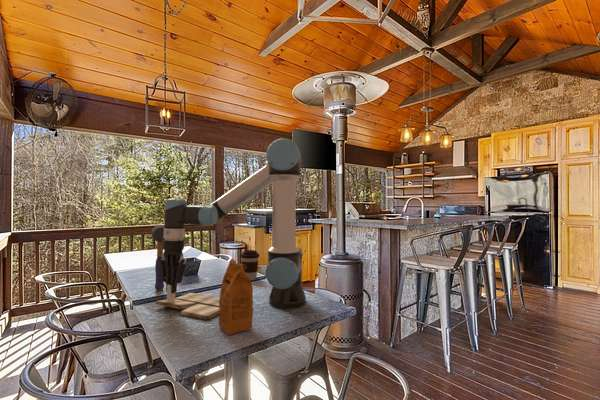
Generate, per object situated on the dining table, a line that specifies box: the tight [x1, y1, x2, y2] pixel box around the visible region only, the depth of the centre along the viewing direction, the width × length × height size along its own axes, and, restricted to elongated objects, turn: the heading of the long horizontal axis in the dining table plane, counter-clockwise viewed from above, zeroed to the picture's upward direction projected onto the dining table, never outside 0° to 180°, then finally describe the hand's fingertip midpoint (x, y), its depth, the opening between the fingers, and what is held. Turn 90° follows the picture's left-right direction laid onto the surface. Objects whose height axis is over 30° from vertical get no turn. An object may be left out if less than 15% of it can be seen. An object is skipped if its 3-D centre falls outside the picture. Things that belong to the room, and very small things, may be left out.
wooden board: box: [175, 292, 220, 307], centre depth 127 cm, size 25×9×2 cm, turn 67°
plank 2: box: [180, 304, 219, 321], centre depth 115 cm, size 12×9×1 cm
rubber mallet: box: [150, 224, 165, 291], centre depth 144 cm, size 12×8×30 cm, turn 29°
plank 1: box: [155, 299, 196, 310], centre depth 121 cm, size 12×9×1 cm
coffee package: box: [218, 258, 254, 336], centre depth 103 cm, size 10×12×22 cm
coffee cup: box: [240, 249, 260, 281], centre depth 167 cm, size 10×10×15 cm
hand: (170, 301), depth 118 cm, fingers closed
